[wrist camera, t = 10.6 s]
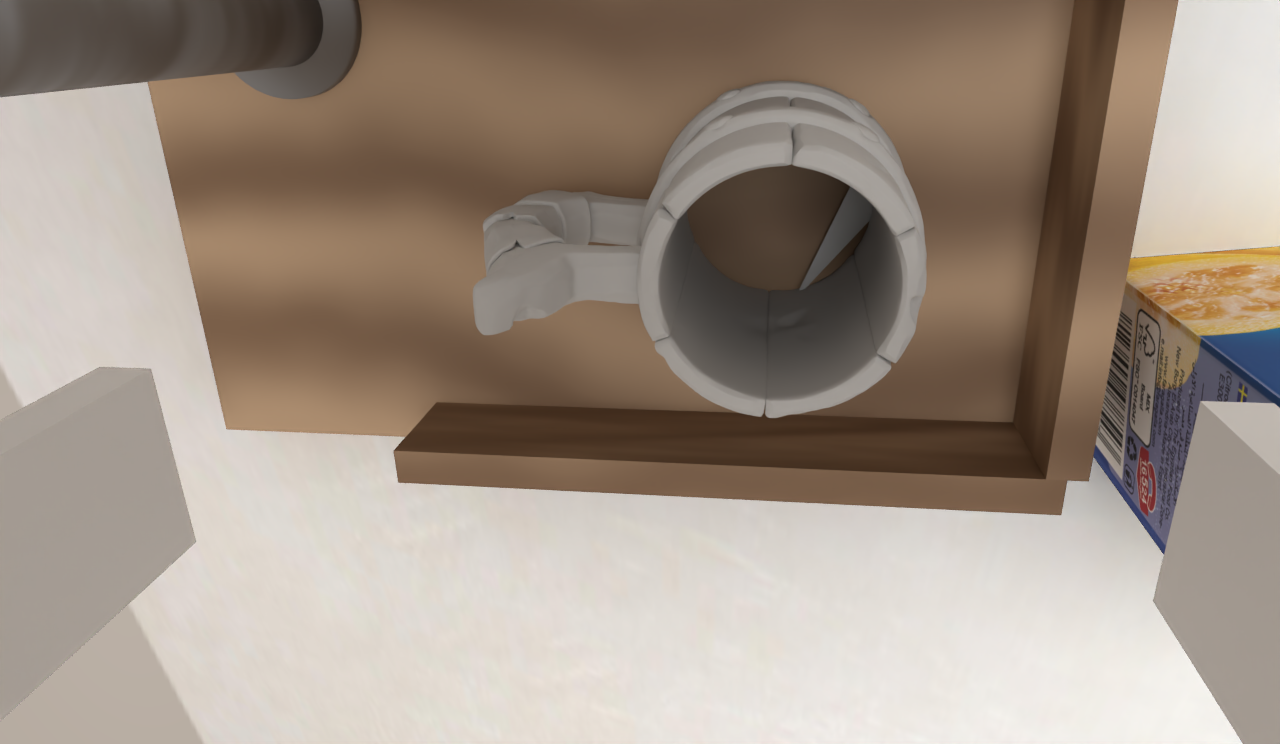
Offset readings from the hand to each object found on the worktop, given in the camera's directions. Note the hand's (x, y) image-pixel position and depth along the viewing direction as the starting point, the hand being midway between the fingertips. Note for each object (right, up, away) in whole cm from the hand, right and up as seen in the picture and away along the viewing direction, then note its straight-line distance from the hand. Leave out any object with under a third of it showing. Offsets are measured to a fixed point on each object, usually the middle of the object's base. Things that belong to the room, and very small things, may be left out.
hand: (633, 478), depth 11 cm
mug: (+3, +7, +17) cm, 19 cm away
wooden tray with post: (-1, +7, +19) cm, 20 cm away
